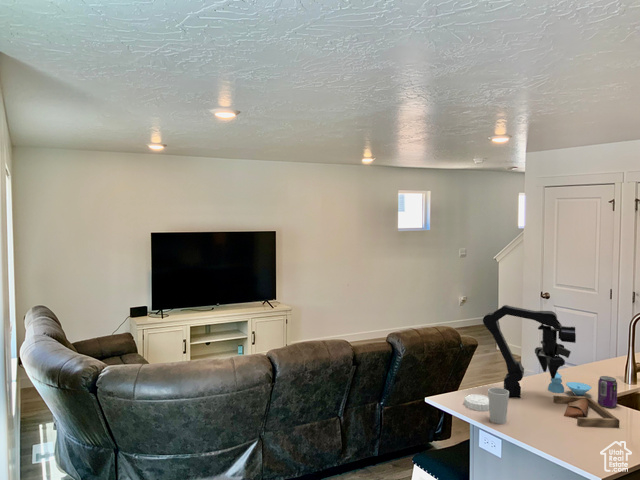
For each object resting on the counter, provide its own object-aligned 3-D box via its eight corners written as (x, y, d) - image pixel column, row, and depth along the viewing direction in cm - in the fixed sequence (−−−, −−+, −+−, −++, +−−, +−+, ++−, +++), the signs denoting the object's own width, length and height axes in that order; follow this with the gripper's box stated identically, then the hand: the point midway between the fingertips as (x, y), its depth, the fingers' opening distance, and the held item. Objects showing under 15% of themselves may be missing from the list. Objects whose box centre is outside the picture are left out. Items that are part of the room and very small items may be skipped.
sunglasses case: (566, 402, 209) (575, 391, 207) (582, 413, 206) (591, 402, 204) (562, 416, 194) (572, 404, 192) (579, 428, 191) (589, 416, 189)
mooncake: (475, 399, 213) (475, 391, 213) (499, 407, 204) (499, 399, 204) (458, 405, 206) (458, 397, 206) (482, 414, 197) (482, 405, 196)
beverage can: (619, 409, 202) (620, 381, 201) (601, 407, 203) (602, 380, 203) (612, 403, 208) (613, 376, 208) (595, 401, 210) (595, 375, 210)
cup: (508, 418, 192) (508, 388, 192) (509, 425, 185) (509, 395, 184) (487, 415, 195) (487, 386, 194) (487, 423, 187) (488, 393, 187)
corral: (578, 426, 184) (579, 418, 184) (553, 402, 209) (553, 395, 209) (619, 427, 183) (619, 420, 183) (588, 403, 208) (588, 396, 208)
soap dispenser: (592, 394, 219) (593, 375, 219) (589, 401, 211) (590, 381, 211) (550, 386, 230) (551, 367, 230) (545, 392, 222) (546, 373, 222)
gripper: (578, 346, 199) (577, 382, 199) (559, 335, 218) (559, 369, 218) (550, 345, 200) (549, 381, 200) (534, 335, 219) (534, 368, 219)
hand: (548, 374), depth 209 cm, fingers open, 9 cm apart
